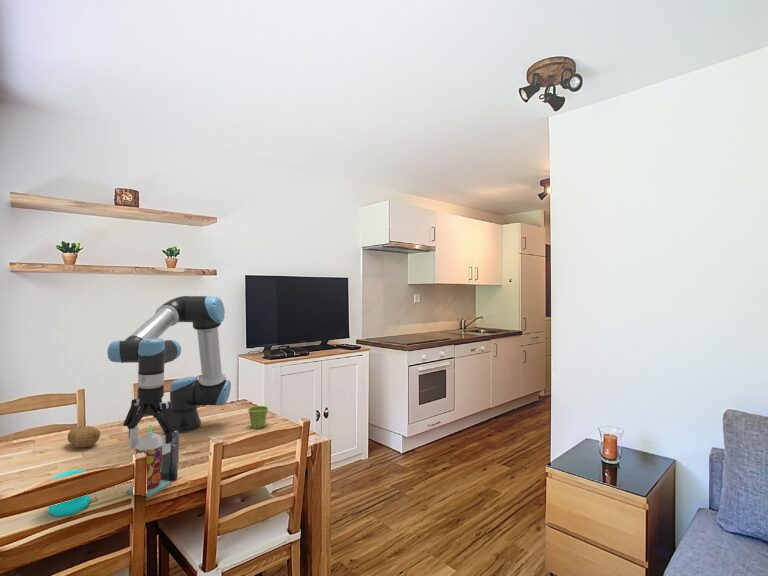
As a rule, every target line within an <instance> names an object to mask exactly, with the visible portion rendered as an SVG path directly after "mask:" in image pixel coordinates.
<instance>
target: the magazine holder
mask: <svg viewBox="0 0 768 576" xmlns="http://www.w3.org/2000/svg"><path fill="white" fill-rule="evenodd" d="M179 455H180V433H179V430H177V431H175V432H173V433H172V442H171V452H169V453H166V454H164V455H163V462H162V473H161V480H165V481H169V482H173V481H176V480H178V466H179V465H178V463H179V457H180V456H179Z"/></svg>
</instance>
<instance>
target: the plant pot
mask: <svg viewBox="0 0 768 576" xmlns="http://www.w3.org/2000/svg"><path fill="white" fill-rule="evenodd" d="M268 410H269V407H268V406H265V405H256V406H251V407H249V408H248V409H247V411H248V414H249V419H250V426H251V428H252V429H256V430H257V429H260V428H264V427H265V425H266V418H267V414H268Z"/></svg>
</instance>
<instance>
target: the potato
mask: <svg viewBox="0 0 768 576" xmlns="http://www.w3.org/2000/svg"><path fill="white" fill-rule="evenodd" d="M100 437H101V431H100V429H98V428H96V427H94V426H89V425H86V426H85V425H84V426H83V425H79V426H76V427H72V428H71V429H70V430H69V431H68V434H67V441H68V442H69V443H70V444H71V446H73V447H75V448H76V447H77V448H89V447H91V446H93V445H94V444H95V443H97V442H98V441H99V440H100Z"/></svg>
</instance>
